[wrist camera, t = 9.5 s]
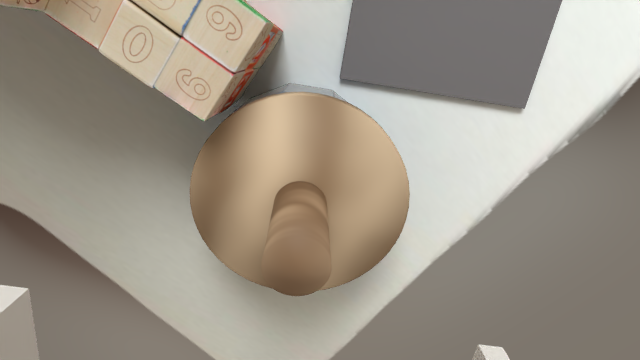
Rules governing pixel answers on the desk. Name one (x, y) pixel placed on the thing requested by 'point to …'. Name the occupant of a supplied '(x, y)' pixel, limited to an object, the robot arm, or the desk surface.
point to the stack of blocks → (173, 43)
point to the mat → (450, 46)
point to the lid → (299, 192)
